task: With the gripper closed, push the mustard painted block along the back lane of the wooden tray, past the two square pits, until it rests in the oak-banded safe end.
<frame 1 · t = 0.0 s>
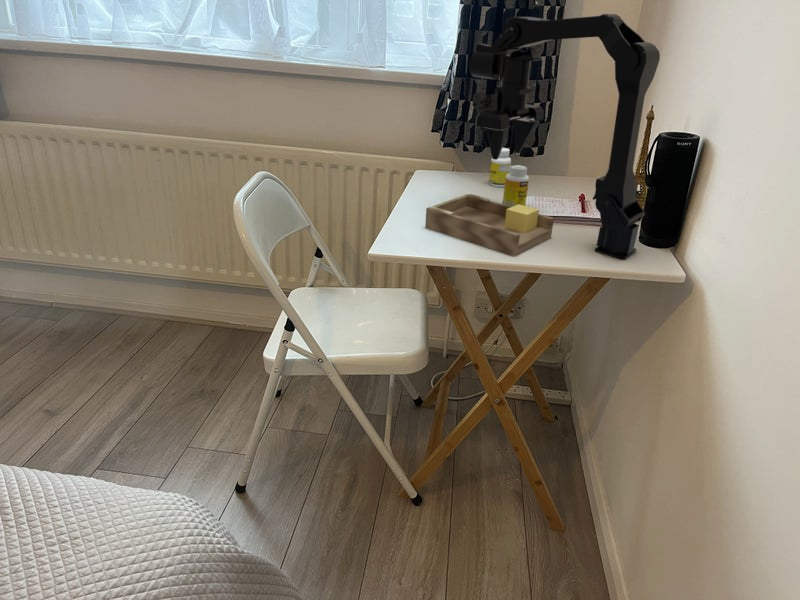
hand: (506, 155, 135), 15 cm above the table, tool pointing down, fingers open, 9 cm apart
supplement bottle: (513, 209, 149), on the table
block: (520, 227, 131), point 2 cm above the table, touching wooden tray
supplement bottle 2: (498, 185, 167), on the table
wooden tray: (487, 232, 133), on the table
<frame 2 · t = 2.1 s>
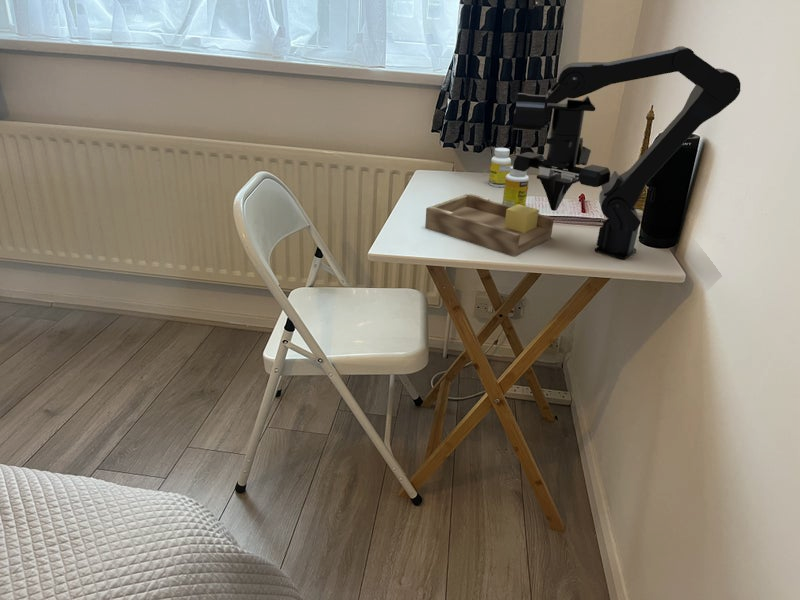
hand: (554, 210, 124), 8 cm above the table, tool pointing down, fingers closed
nothing on the table moved.
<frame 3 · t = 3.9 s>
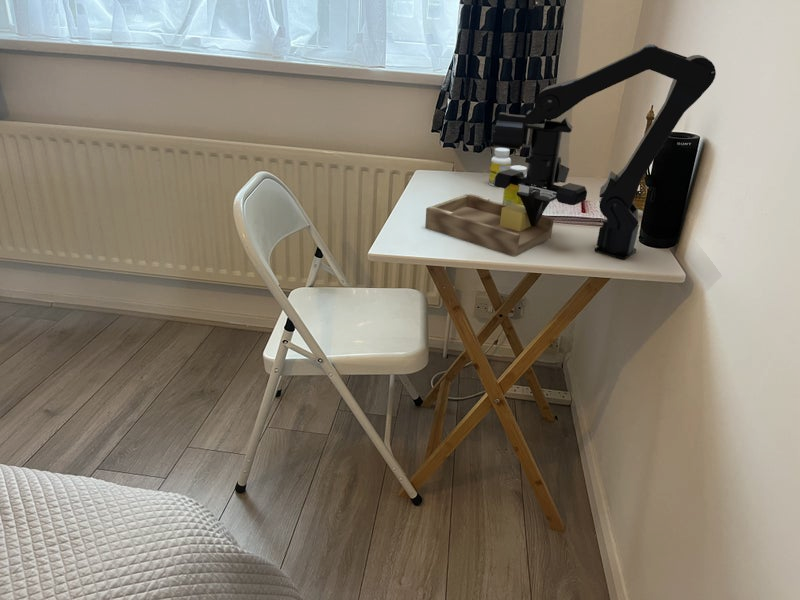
hand: (533, 225, 129), 3 cm above the table, tool pointing down, fingers closed
block: (515, 225, 132), point 2 cm above the table, touching gripper
everything else where it was.
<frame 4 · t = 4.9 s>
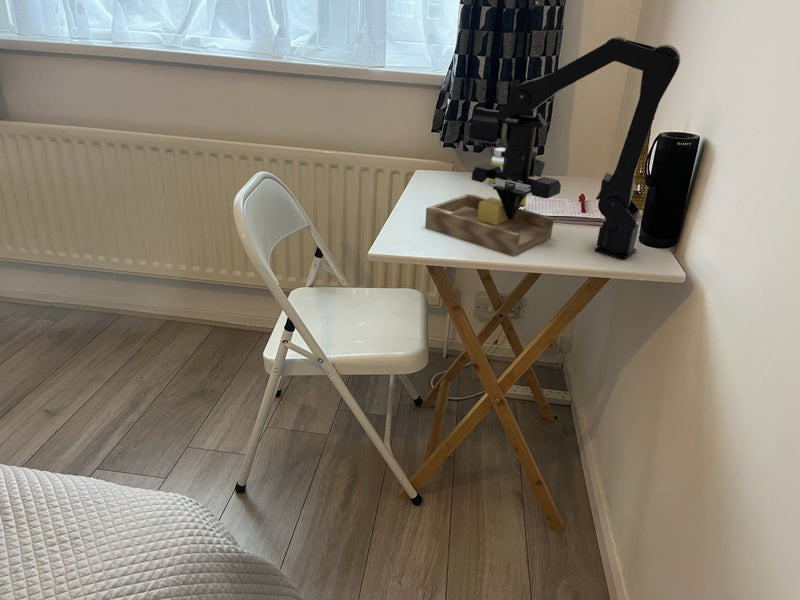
hand: (510, 218, 132), 3 cm above the table, tool pointing down, fingers closed
block: (493, 219, 135), point 2 cm above the table, touching gripper, wooden tray
everything else where it was.
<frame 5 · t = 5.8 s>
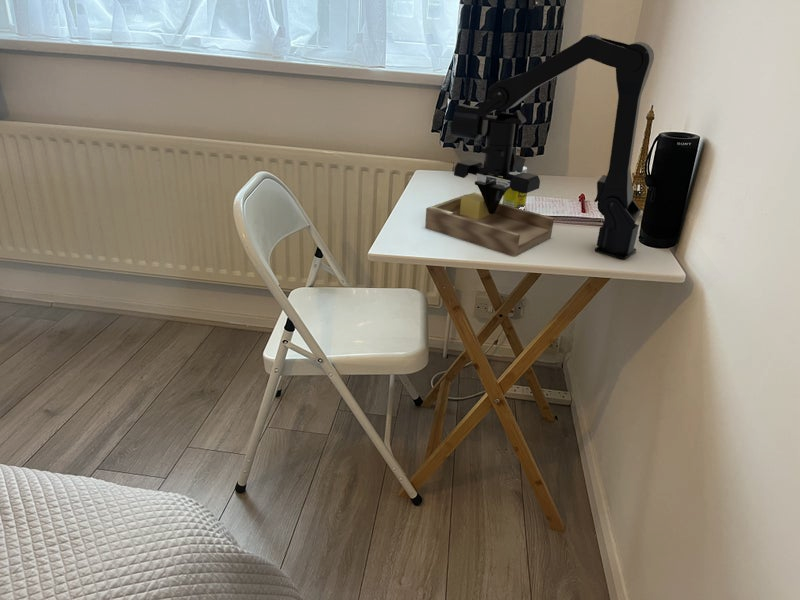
hand: (491, 213, 135), 3 cm above the table, tool pointing down, fingers closed
block: (475, 214, 138), point 2 cm above the table, touching gripper, wooden tray
everything else where it was.
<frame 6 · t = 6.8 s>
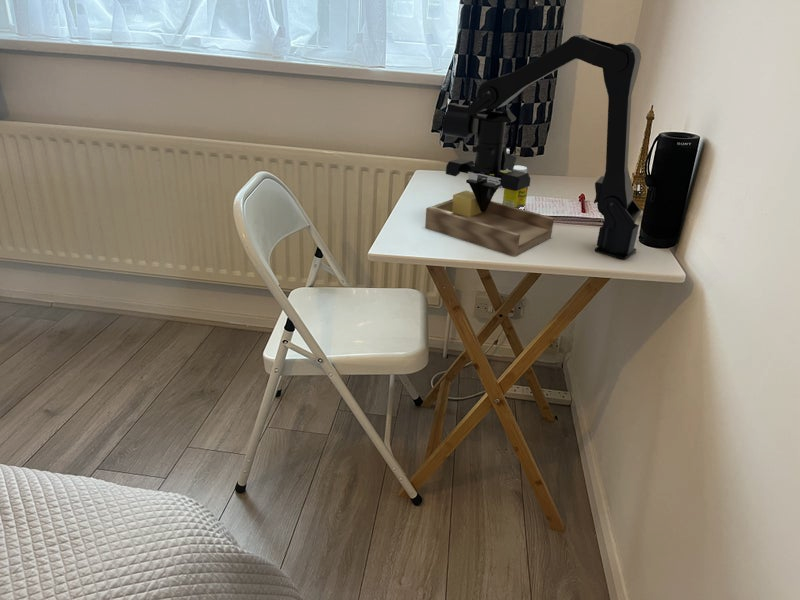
hand: (483, 211, 136), 3 cm above the table, tool pointing down, fingers closed
block: (467, 211, 139), point 2 cm above the table, touching gripper, wooden tray
everything else where it was.
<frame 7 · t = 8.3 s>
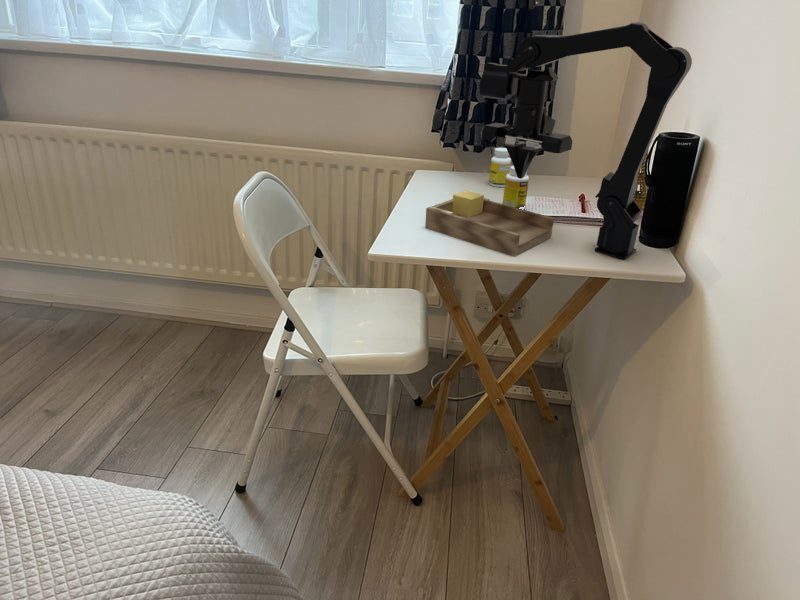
hand: (520, 178, 130), 12 cm above the table, tool pointing down, fingers closed
block: (467, 211, 139), point 2 cm above the table, touching wooden tray
everything else where it was.
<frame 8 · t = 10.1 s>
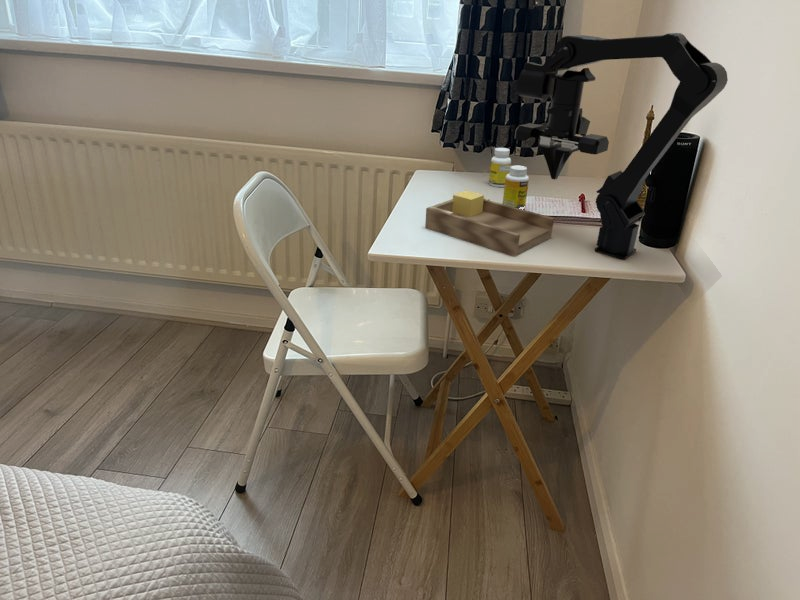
hand: (554, 178, 129), 12 cm above the table, tool pointing down, fingers closed
nothing on the table moved.
at the end: block 1.3 cm from the target spot on the wooden tray, point 2.0 cm above the wooden tray's base; block tilted 0° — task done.
